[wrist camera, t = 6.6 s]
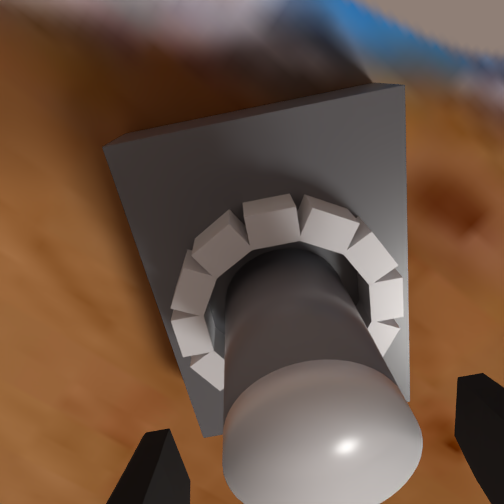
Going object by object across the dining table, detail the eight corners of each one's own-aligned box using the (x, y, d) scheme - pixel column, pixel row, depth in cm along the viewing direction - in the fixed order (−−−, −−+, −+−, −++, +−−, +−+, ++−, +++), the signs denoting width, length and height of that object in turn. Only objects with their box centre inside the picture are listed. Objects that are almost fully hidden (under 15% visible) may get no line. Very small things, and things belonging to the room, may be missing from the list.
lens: (342, 240, 15) (429, 370, 8) (345, 341, 17) (416, 509, 10) (216, 257, 15) (206, 400, 8) (234, 356, 17) (237, 532, 10)
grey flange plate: (373, 82, 15) (426, 86, 11) (386, 358, 21) (424, 427, 17) (124, 133, 15) (86, 155, 11) (207, 391, 21) (201, 466, 17)
